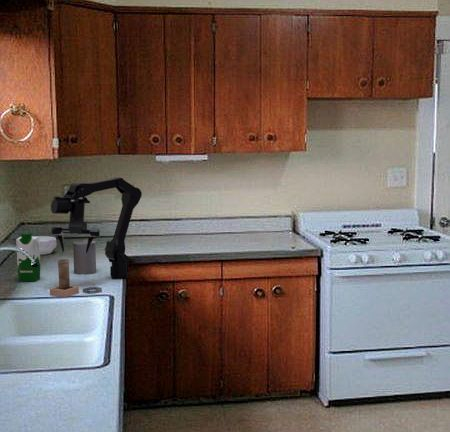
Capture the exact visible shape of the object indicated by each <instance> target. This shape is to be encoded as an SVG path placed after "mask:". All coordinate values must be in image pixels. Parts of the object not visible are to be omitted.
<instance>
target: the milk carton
mask: <svg viewBox="0 0 450 432" xmlns="http://www.w3.org/2000/svg"><path fill="white" fill-rule="evenodd" d="M20 235H21V236H20V237H18V238H16V239H15V242H16V243H15V244H16V248H17V247H20V248H22V249H24V250H25V251H26V252H28V253H29V254H30V255H31V256H32V258H33V259H34V260H35V262H36V263H37V264H38V266H37V267H32V266H31V260H30V259H29V258H28V257H26V256H25V255H23V254H22V253H20V252H17V251H16V259H17V260H16V263H17V265H16V266H17V275H18V276H17V277H18V282H19V283H20V282H21V283H22V282H23V283H24V282H25V283H29V282H30V283H31V282H32V283H33V282H35V283H36V282H38V280H40V278H41V255H40V247H39V246H40V244H39V236H40V235H39V236H33V235H32V232H22V233H21V234H20Z"/></svg>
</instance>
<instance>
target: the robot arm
mask: <svg viewBox="0 0 450 432" xmlns="http://www.w3.org/2000/svg"><path fill="white" fill-rule="evenodd" d="M109 189H110V190H111V189H116V191H118V192H119V193H120V194H121V198H120V199H121V205H122V207H121V210H120V213H119V218H118V220H117V224H116V228H115V230H114V234H113V236H112V239H111V240H107V241H106V244H105V245H106V246H105V248H104V249H103V250H104V254H105V257H106V258H107V259H108V262H109V263H111V265H110V267H109V270H110V271H109V272H110V273H109V275H110V277H111V279H112V280H113V279H128V278H129V277H128V265H129V264H130V262H131V261H130V260H131V258H130V257H129V256H128V254H126V243H125V239H126V237H127V236H126V235H127V233H128V229H129V227H130V226H129V225H130V222H131V219H132V216H133V213H134V209H135V208H136V207H137V205H138V204H139V202H140V200H141V198H142V194H143V192H142V191H141V190H142V189H140V188H139V187H136V186H134V185H132V184H131V183H130V182H128V181H127V180H125V179H124V178H122V177H116V176H115V177H113V178H107V179H103V180H102V179H101V180H97V181H92V182H72V183H70V185H69V188H68V190H67V192H66V193H65V194H64V195H63V196H56V195H55V196H53V200H52V201H51V204H50V211H51V213H52V214H53V215H54V214H55V215H56V214H58V215H59V214H63V215H68V214H69V219H68V220H69V222H68V228H65V227H63V226H60V225H59V226H57V225H54V226H53V227H52V228H51V235H54V237H57V239H58V241H59V244H60V246H61V250H62V251H61V252H62V253H65V244H64V243H65V242H64V234H70V235H73V234H76V235H88V239H87V240H88V243H87V248H86V253H87V252H88V249H89V246H90V244H91V242H92V241H94V239H97V237H100V234H101V233H100V232H101V230H100V228H98V227H96V228H95V227H90V228H89V229H87V228H88V221H85V209H86V208H85V207H86V204H90V203H91V201H90V200H89V199H88V198H87V197H88V196H90V195H92V194H93V193H96V192H101V191H106V190H109Z"/></svg>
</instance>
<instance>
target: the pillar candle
mask: <svg viewBox="0 0 450 432" xmlns="http://www.w3.org/2000/svg"><path fill="white" fill-rule="evenodd" d="M87 243H88V239H82V240H75V241H73V243H72V247H73V248H72V249H73V274H75V275H81V274H84V275H92V274H94V273H95V274H96V273H97V256H96V255H97V252H96V249H97V248H96V241H95V240H92V242H91V244H90V246H89V249H88V252H87V253H86V248H87Z"/></svg>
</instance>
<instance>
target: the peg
mask: <svg viewBox="0 0 450 432" xmlns="http://www.w3.org/2000/svg"><path fill="white" fill-rule="evenodd" d="M56 263H57V268H58V269H57V271H58V275H57V276H58V286H59V289H61V290H67V289H70V285H71V284H70V283H71V281H70V260H69V259H66V258H64V259H58V260H57V262H56Z"/></svg>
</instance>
